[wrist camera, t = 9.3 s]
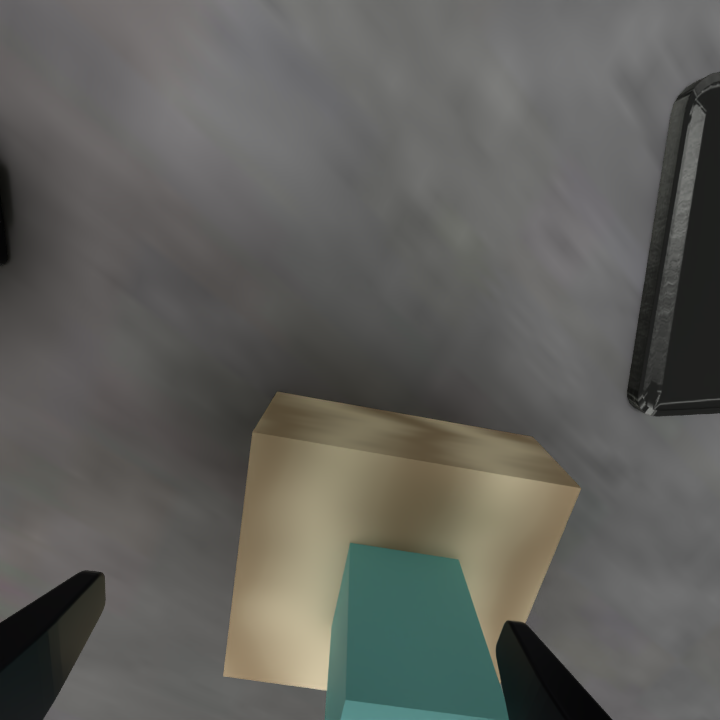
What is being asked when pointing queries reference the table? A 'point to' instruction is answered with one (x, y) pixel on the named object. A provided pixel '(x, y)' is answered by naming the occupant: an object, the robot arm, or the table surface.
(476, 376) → the table surface
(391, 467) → the oak box
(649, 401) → the phone
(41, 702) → the robot arm
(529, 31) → the table surface
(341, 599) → the teal cube
